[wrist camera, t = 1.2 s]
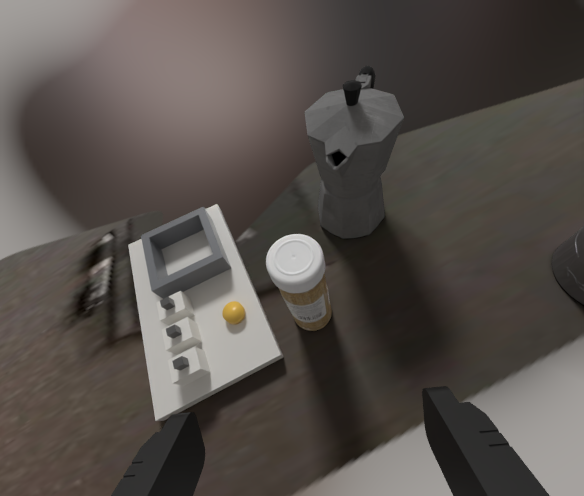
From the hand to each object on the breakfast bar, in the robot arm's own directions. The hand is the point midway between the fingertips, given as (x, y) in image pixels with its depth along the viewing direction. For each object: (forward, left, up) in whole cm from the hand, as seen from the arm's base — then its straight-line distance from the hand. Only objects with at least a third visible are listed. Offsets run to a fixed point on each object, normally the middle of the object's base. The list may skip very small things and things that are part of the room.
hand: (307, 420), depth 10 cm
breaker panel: (+9, -19, -21) cm, 30 cm away
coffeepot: (-15, -21, -21) cm, 33 cm away
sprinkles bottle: (-3, -10, -21) cm, 24 cm away
